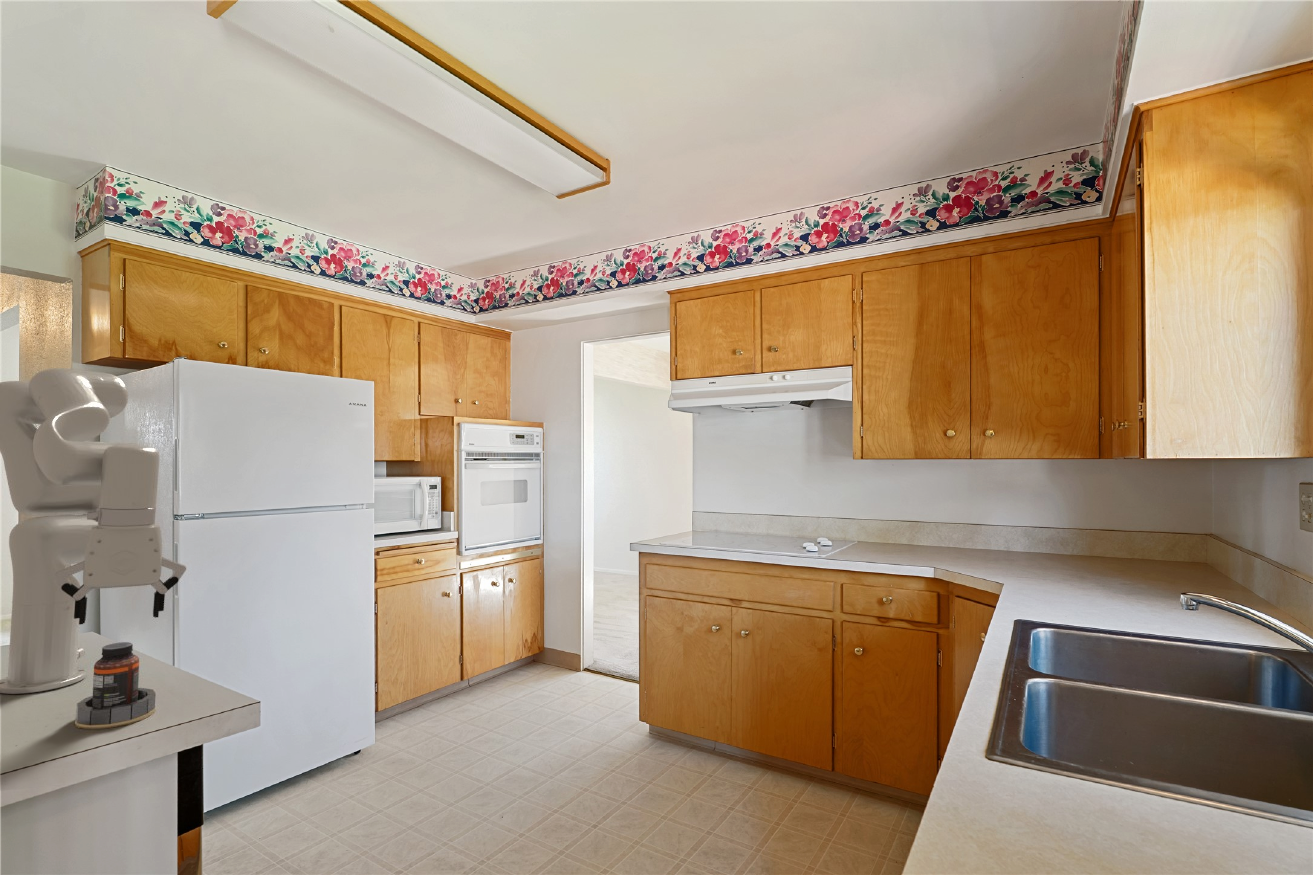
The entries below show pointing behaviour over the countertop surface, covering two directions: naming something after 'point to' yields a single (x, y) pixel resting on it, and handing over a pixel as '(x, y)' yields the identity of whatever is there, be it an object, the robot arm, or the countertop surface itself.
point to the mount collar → (115, 712)
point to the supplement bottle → (116, 676)
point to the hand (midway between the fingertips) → (119, 618)
